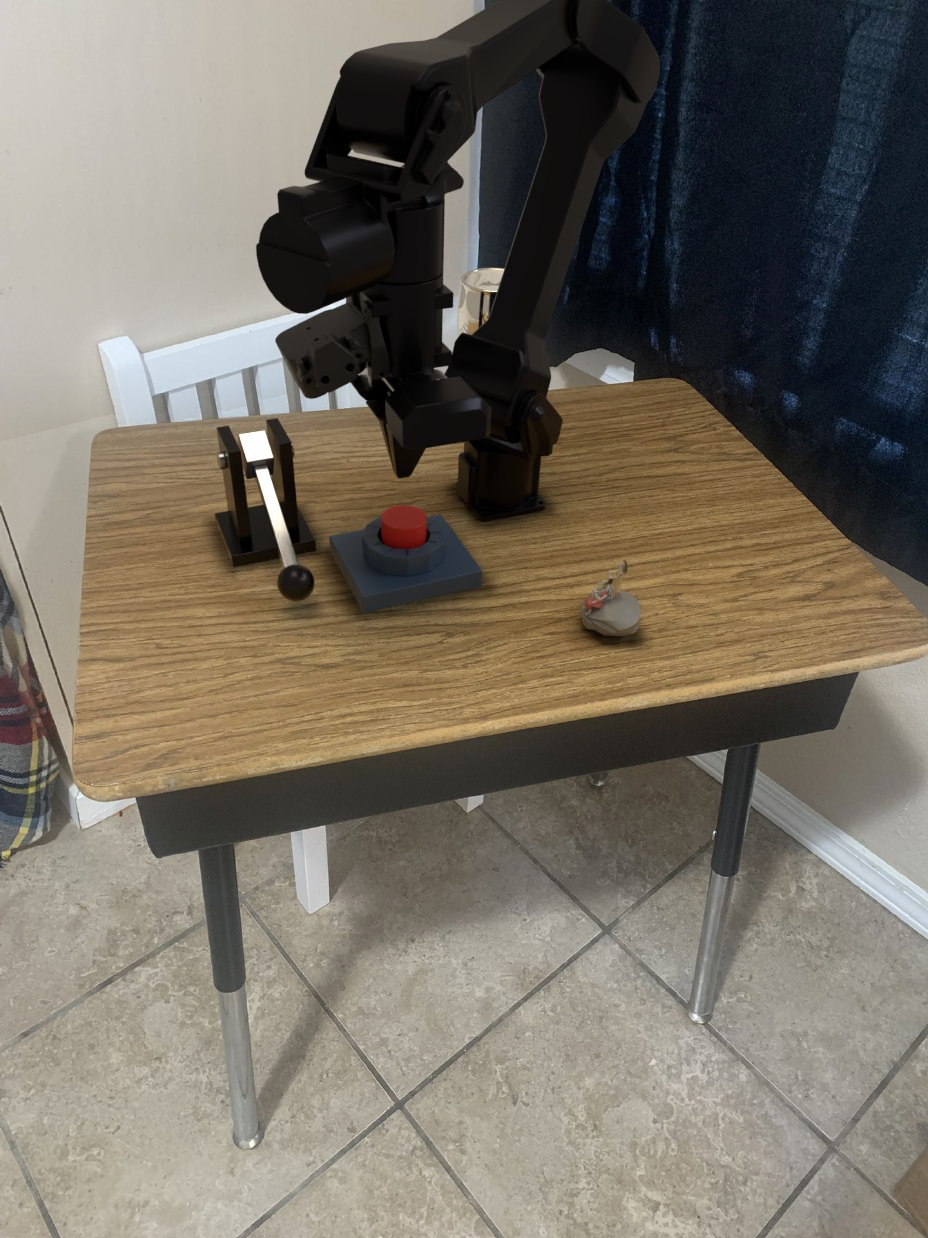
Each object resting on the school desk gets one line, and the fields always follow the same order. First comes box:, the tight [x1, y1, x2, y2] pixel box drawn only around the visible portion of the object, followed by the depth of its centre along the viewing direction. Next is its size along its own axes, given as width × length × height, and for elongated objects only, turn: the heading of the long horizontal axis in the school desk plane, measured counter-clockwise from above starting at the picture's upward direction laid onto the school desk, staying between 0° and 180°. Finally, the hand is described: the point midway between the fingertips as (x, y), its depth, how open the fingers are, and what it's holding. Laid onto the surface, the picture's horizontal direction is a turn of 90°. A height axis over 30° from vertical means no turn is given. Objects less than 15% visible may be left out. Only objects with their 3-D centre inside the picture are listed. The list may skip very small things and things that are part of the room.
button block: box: [328, 514, 483, 614], centre depth 79 cm, size 10×9×4 cm
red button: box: [380, 504, 428, 549], centre depth 78 cm, size 4×4×2 cm
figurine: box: [580, 559, 642, 637], centre depth 73 cm, size 5×4×6 cm
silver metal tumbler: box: [456, 267, 505, 338], centre depth 97 cm, size 7×7×15 cm
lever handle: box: [237, 429, 316, 602], centre depth 76 cm, size 15×3×3 cm, turn 23°
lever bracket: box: [214, 417, 317, 568], centre depth 80 cm, size 7×7×10 cm
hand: (402, 475), depth 75 cm, fingers closed
